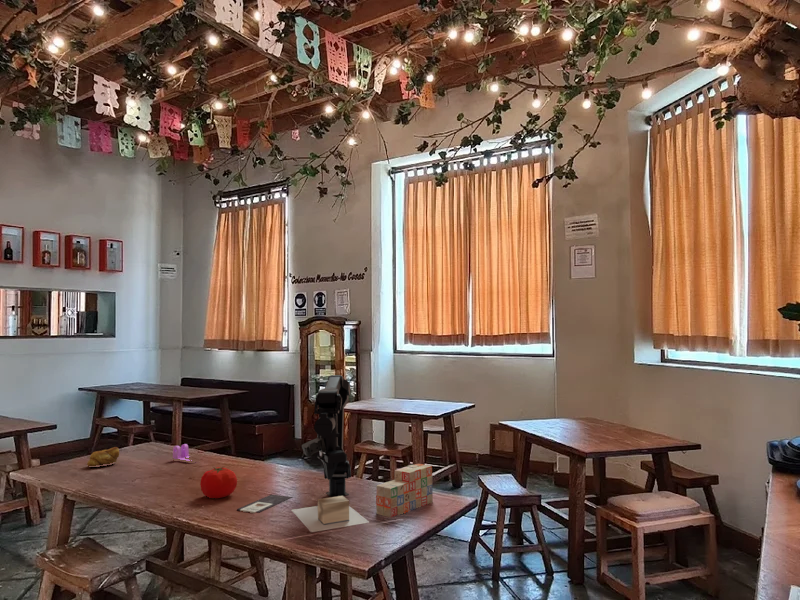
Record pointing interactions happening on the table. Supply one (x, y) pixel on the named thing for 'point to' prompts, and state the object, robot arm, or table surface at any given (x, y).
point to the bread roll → (104, 457)
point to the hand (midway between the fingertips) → (329, 479)
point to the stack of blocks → (405, 491)
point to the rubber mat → (313, 524)
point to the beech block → (333, 510)
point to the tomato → (218, 482)
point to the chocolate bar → (263, 503)
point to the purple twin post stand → (181, 452)
